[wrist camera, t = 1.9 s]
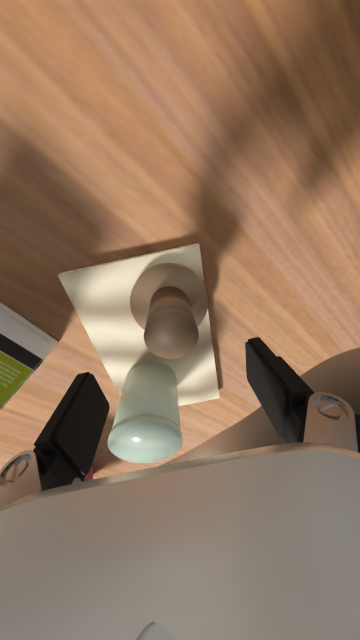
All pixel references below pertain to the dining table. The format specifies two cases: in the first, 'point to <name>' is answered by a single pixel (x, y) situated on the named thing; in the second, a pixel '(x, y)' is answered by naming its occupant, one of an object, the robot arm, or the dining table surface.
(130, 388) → the jar
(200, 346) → the board
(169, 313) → the lid
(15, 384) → the tea box
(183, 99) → the dining table surface
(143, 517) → the robot arm
